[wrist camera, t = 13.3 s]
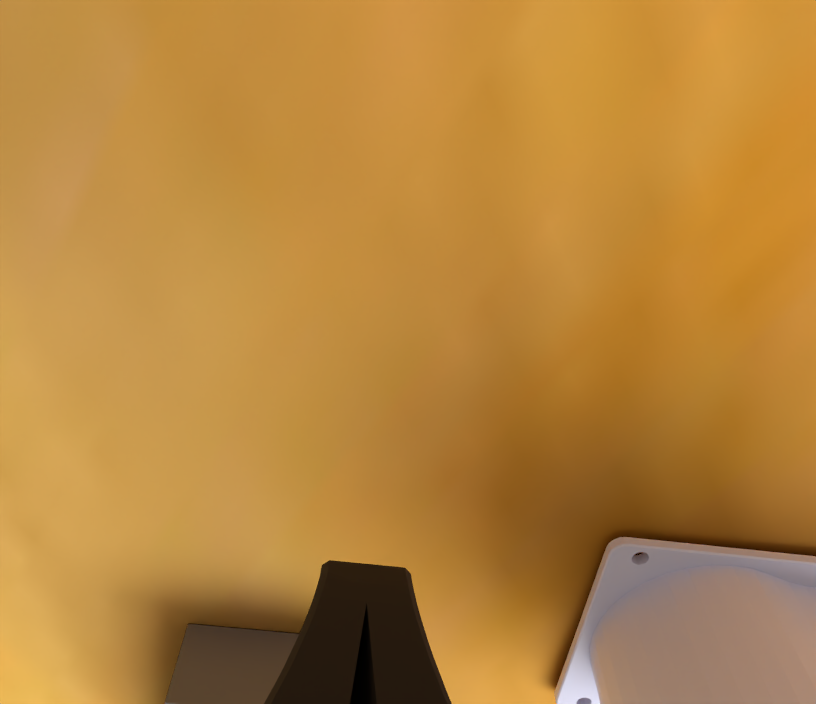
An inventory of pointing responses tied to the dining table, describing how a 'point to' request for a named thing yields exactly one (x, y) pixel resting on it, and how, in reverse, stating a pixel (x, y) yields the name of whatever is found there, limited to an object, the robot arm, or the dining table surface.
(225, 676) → the button housing
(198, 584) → the dining table surface
